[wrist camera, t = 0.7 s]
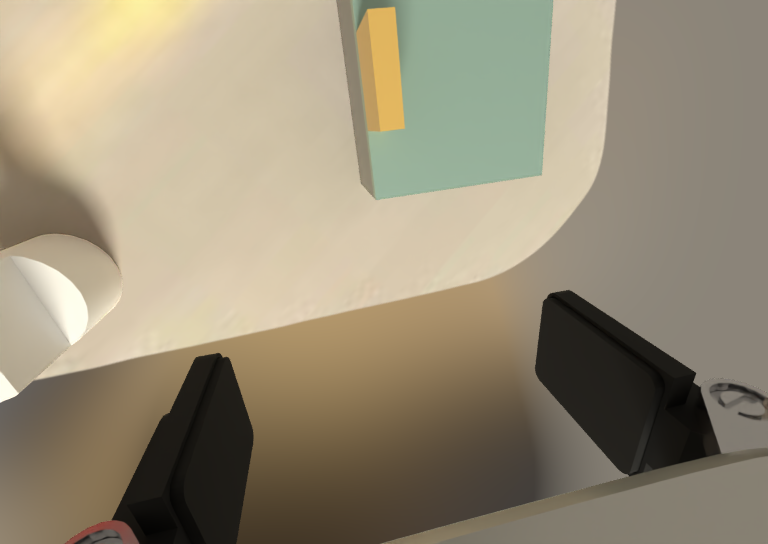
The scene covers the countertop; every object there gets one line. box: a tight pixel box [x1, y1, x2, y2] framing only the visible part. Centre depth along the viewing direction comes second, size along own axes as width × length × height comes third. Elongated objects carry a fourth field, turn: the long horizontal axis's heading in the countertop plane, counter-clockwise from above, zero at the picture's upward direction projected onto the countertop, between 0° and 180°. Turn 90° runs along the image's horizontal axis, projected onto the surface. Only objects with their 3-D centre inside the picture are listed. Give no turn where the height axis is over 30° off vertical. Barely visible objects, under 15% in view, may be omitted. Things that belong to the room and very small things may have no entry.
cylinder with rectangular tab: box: [0, 233, 123, 402], centre depth 28 cm, size 9×9×12 cm
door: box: [350, 0, 553, 200], centre depth 24 cm, size 16×14×7 cm
